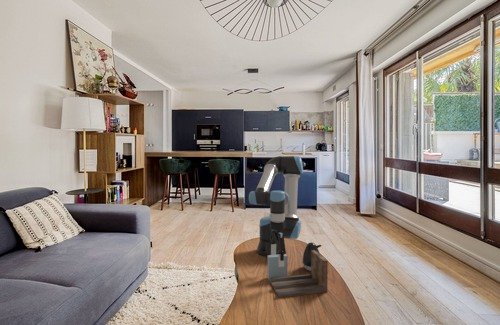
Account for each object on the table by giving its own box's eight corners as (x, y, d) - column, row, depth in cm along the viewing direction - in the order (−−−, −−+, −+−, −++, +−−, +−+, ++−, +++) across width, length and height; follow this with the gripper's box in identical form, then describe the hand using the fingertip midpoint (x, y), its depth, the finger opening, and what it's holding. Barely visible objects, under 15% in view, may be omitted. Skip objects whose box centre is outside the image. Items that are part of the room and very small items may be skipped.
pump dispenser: (321, 274, 143) (322, 246, 143) (302, 272, 145) (302, 245, 145) (320, 266, 153) (320, 240, 153) (302, 264, 155) (302, 239, 155)
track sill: (270, 282, 134) (270, 253, 134) (314, 278, 139) (314, 249, 138) (278, 297, 120) (278, 265, 120) (327, 291, 125) (327, 260, 125)
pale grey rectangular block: (267, 277, 140) (267, 255, 139) (285, 275, 142) (285, 253, 141) (269, 280, 137) (268, 257, 136) (287, 278, 139) (287, 256, 138)
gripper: (264, 215, 149) (264, 253, 150) (277, 227, 125) (277, 271, 125) (277, 215, 151) (277, 252, 151) (292, 226, 126) (292, 270, 127)
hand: (277, 261), depth 138 cm, fingers open, 13 cm apart
